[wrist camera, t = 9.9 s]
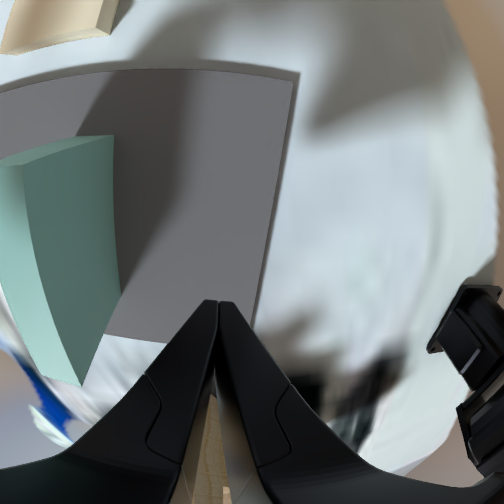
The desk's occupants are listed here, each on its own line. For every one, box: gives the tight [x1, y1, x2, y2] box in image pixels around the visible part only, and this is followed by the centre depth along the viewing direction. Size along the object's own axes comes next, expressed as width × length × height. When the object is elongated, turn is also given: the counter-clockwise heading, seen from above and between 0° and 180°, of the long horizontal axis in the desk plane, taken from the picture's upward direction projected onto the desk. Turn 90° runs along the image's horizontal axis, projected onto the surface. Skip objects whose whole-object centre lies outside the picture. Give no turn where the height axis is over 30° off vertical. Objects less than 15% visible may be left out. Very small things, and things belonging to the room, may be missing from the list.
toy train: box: [192, 394, 232, 504], centre depth 17 cm, size 6×17×10 cm, turn 50°
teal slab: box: [0, 135, 121, 387], centre depth 9 cm, size 2×8×6 cm, turn 172°
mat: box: [0, 69, 294, 344], centre depth 12 cm, size 16×14×1 cm
